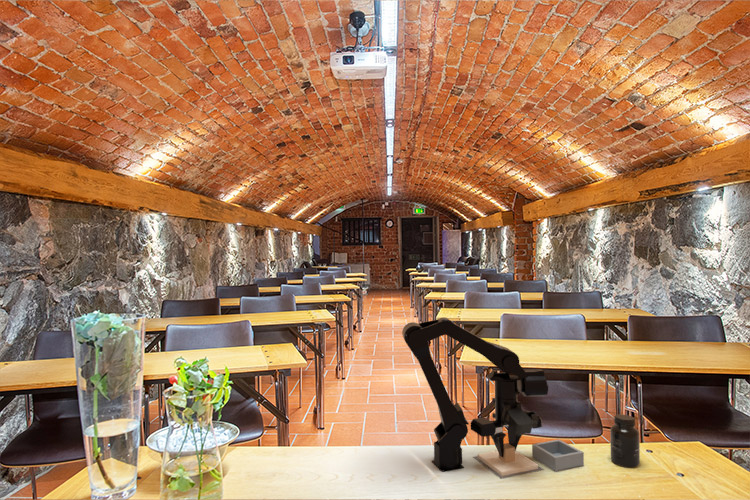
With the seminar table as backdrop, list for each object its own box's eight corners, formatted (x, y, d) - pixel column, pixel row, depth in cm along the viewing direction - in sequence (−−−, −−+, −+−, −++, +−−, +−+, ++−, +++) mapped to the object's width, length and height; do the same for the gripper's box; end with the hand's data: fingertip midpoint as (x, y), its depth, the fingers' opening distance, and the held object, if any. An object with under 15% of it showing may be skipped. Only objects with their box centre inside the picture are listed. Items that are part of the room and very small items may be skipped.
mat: (500, 480, 114) (500, 478, 114) (472, 458, 126) (472, 456, 126) (543, 471, 118) (543, 469, 118) (512, 451, 131) (512, 449, 131)
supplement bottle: (643, 469, 119) (643, 422, 119) (615, 467, 120) (614, 421, 120) (634, 457, 126) (633, 413, 126) (607, 455, 127) (606, 412, 127)
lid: (501, 476, 115) (501, 458, 115) (477, 457, 126) (477, 441, 126) (538, 468, 119) (537, 451, 119) (511, 451, 129) (511, 435, 129)
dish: (555, 473, 117) (555, 457, 117) (532, 459, 126) (532, 444, 126) (583, 467, 120) (583, 452, 120) (559, 453, 129) (558, 439, 129)
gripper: (493, 410, 112) (494, 475, 112) (556, 401, 118) (557, 462, 118) (469, 397, 122) (469, 456, 122) (527, 389, 129) (528, 445, 128)
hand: (506, 455), depth 122 cm, fingers closed on lid, 3 cm apart
